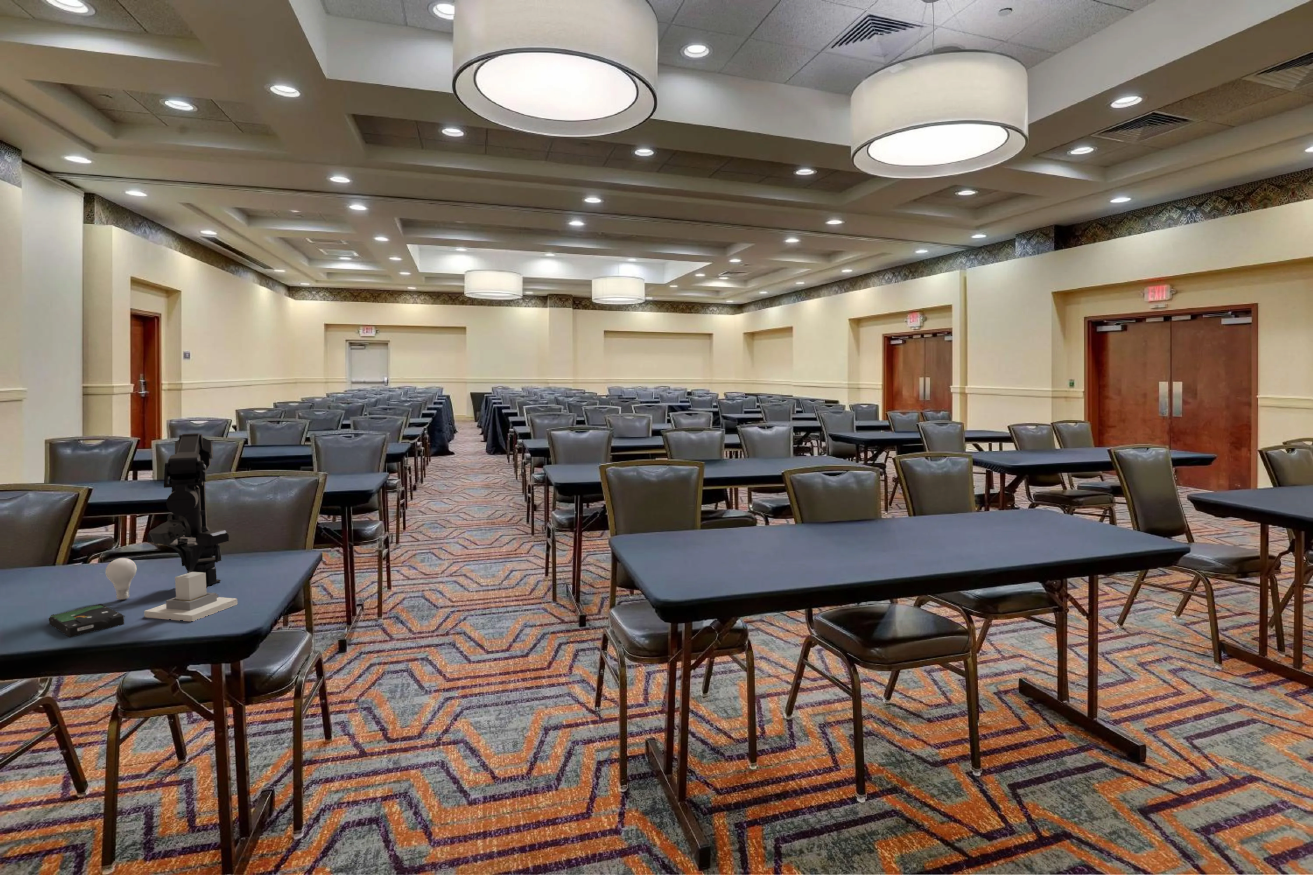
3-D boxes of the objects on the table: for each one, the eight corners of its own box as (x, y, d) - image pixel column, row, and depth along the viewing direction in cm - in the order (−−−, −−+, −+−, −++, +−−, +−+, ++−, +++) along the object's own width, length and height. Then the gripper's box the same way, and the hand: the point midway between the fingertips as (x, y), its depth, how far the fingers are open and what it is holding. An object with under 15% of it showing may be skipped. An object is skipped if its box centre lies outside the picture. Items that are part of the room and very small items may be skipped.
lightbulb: (144, 597, 180) (141, 556, 179) (118, 604, 174) (115, 562, 173) (127, 595, 182) (125, 554, 181) (101, 602, 176) (98, 560, 175)
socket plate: (144, 617, 165) (143, 602, 164) (192, 600, 177) (191, 587, 177) (192, 621, 162) (191, 607, 161) (237, 604, 174) (236, 590, 174)
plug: (176, 607, 167) (174, 577, 167) (193, 601, 172) (192, 571, 172) (190, 608, 167) (188, 577, 166) (207, 602, 171) (205, 572, 171)
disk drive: (126, 626, 160) (101, 613, 169) (125, 614, 160) (101, 602, 168) (70, 640, 152) (47, 626, 160) (69, 627, 151) (46, 614, 160)
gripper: (123, 512, 162) (128, 577, 163) (188, 515, 158) (192, 582, 159) (167, 504, 173) (170, 565, 174) (229, 507, 168) (232, 569, 170)
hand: (190, 570), depth 169 cm, fingers closed
